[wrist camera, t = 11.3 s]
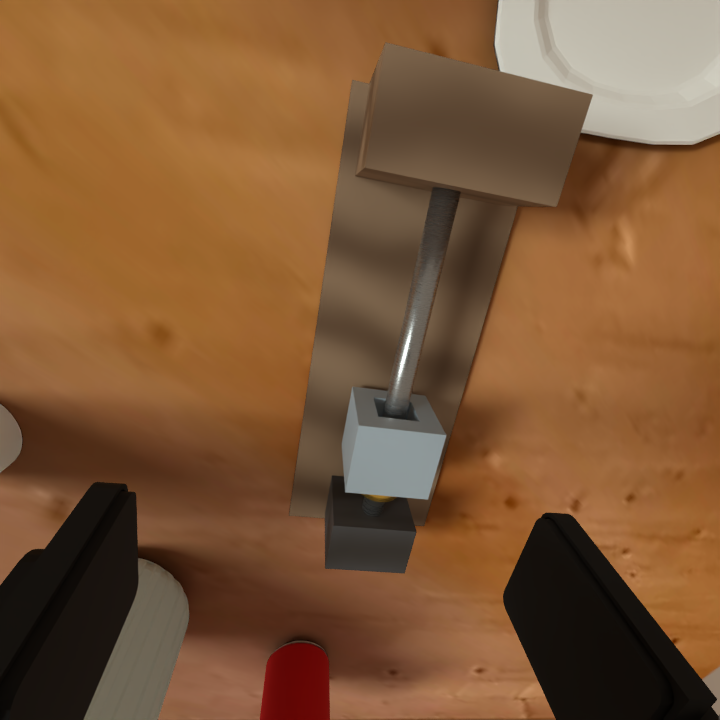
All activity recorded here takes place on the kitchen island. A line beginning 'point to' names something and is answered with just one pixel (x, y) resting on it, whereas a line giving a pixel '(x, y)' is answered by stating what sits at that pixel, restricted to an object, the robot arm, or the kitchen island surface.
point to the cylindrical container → (9, 438)
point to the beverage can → (296, 683)
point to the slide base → (399, 255)
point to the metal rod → (417, 314)
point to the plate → (622, 62)
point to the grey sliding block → (390, 447)
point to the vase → (144, 650)
